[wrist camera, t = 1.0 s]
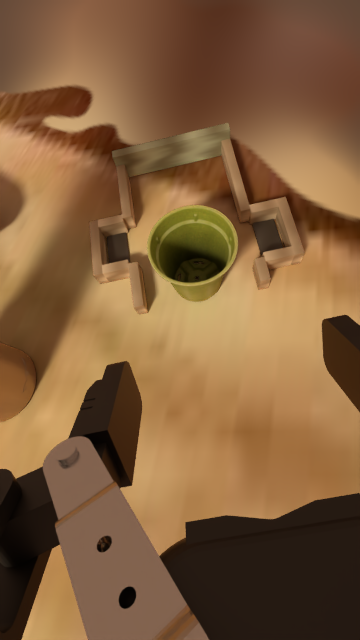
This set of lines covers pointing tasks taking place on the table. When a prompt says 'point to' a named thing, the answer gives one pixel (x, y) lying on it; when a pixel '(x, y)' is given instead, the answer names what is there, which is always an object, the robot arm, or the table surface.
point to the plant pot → (193, 249)
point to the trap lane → (258, 214)
